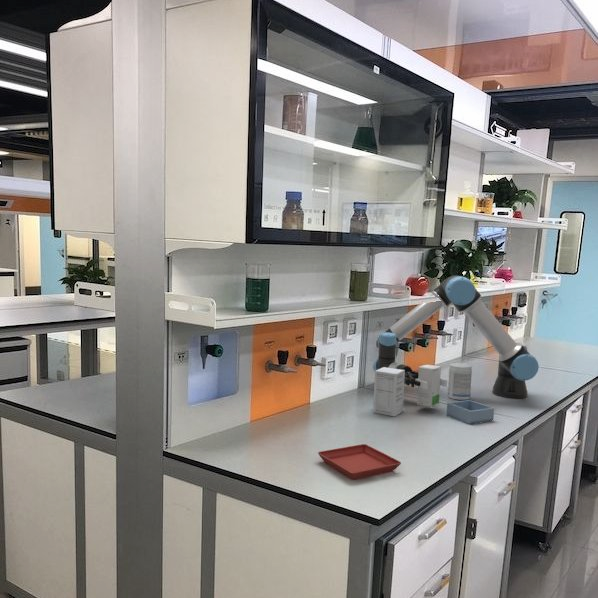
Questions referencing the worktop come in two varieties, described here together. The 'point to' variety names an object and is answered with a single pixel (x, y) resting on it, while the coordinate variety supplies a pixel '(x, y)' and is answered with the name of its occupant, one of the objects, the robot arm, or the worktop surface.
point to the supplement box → (388, 391)
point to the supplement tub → (459, 381)
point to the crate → (470, 411)
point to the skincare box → (429, 385)
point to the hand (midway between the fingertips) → (436, 384)
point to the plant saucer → (359, 461)
